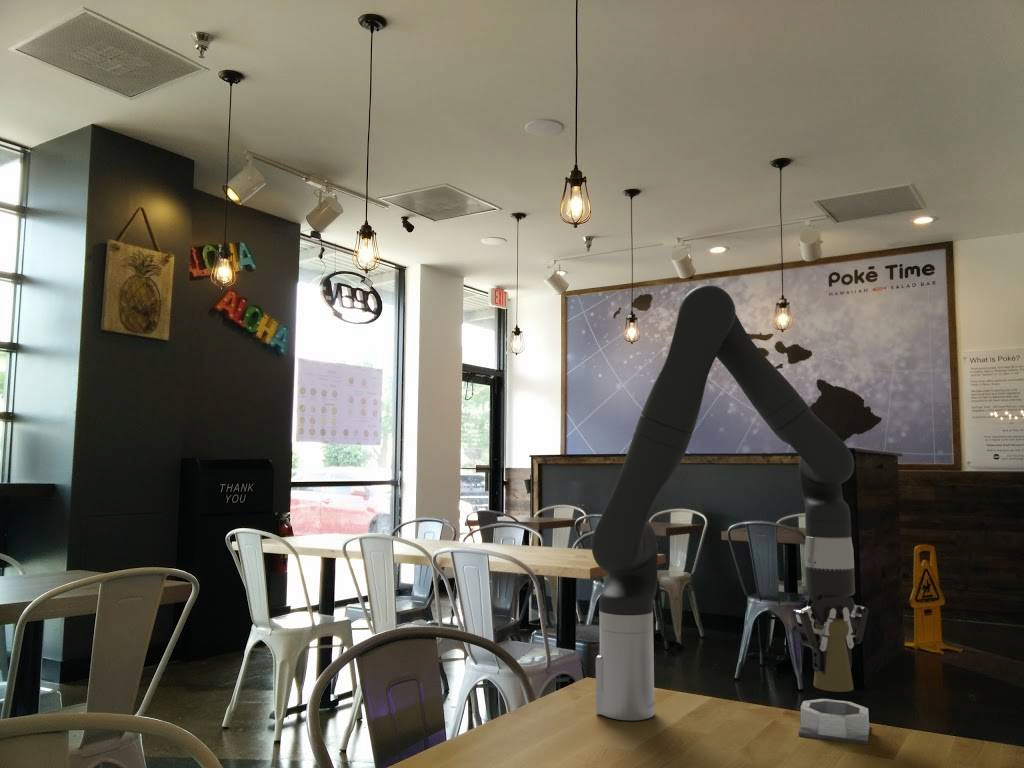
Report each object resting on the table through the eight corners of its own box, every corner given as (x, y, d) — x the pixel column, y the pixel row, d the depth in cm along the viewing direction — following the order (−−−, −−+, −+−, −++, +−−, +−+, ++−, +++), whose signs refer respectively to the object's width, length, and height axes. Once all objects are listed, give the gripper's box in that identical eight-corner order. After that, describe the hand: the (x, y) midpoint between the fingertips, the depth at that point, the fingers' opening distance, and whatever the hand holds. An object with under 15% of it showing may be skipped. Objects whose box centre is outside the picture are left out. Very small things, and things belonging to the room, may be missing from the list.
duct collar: (798, 736, 133) (798, 712, 134) (805, 718, 142) (804, 696, 143) (867, 745, 129) (866, 720, 129) (870, 726, 138) (869, 703, 138)
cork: (861, 688, 135) (859, 617, 136) (838, 693, 132) (836, 621, 133) (828, 680, 140) (826, 612, 141) (805, 685, 137) (803, 616, 138)
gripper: (809, 569, 132) (813, 682, 130) (880, 565, 137) (884, 674, 136) (778, 563, 139) (781, 671, 137) (847, 560, 144) (850, 663, 143)
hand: (832, 671), depth 137 cm, fingers closed on cork, 4 cm apart
